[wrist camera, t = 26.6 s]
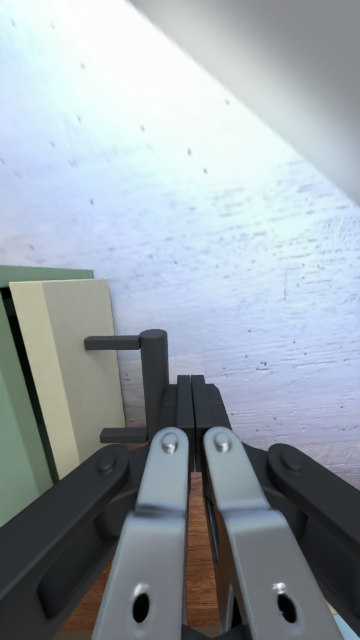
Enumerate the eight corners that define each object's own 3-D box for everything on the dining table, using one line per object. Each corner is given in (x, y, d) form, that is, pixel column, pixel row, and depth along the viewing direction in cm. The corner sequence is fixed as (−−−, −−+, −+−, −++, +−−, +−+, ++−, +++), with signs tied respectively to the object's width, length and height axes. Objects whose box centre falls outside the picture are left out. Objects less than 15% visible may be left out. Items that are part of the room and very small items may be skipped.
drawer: (170, 277, 12) (159, 279, 6) (174, 426, 15) (170, 519, 9) (-102, 282, 12) (-355, 288, 6) (-41, 428, 15) (-175, 520, 9)
